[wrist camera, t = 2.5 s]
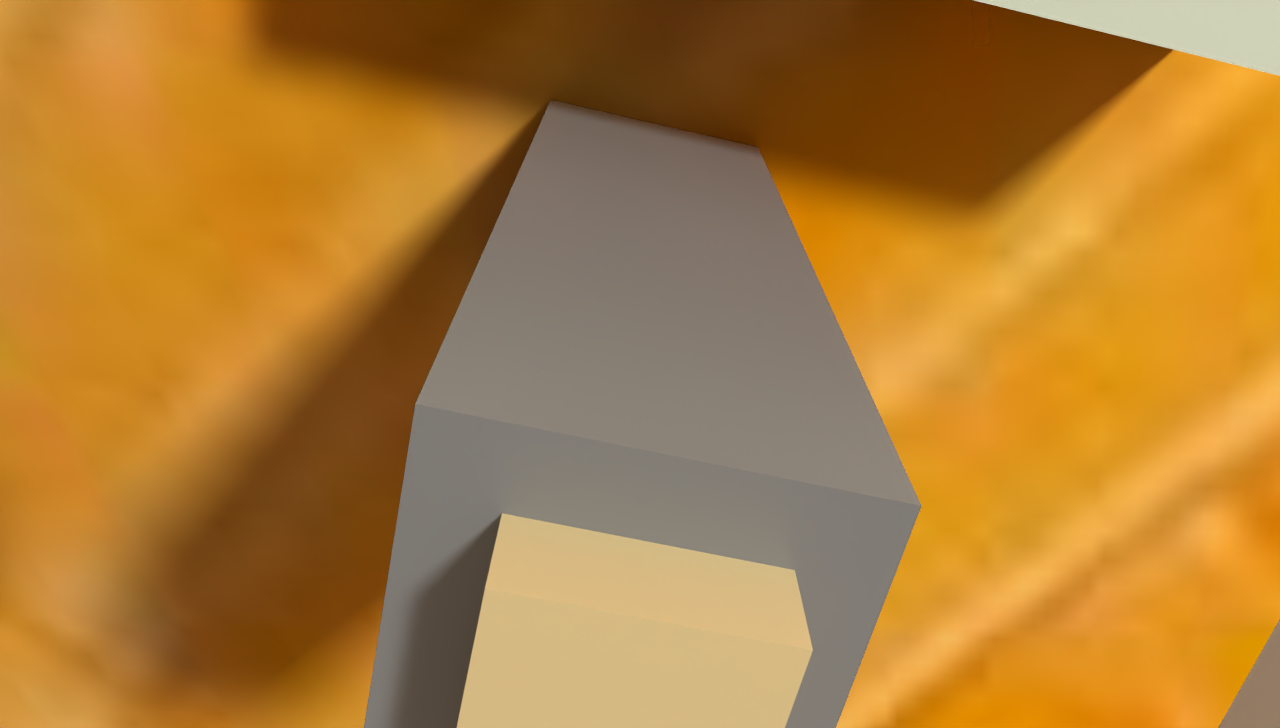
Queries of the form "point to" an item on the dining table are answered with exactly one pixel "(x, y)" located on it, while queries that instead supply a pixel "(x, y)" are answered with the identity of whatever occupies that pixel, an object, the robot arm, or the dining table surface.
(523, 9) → the dining table surface
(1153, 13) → the walled box
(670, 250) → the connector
